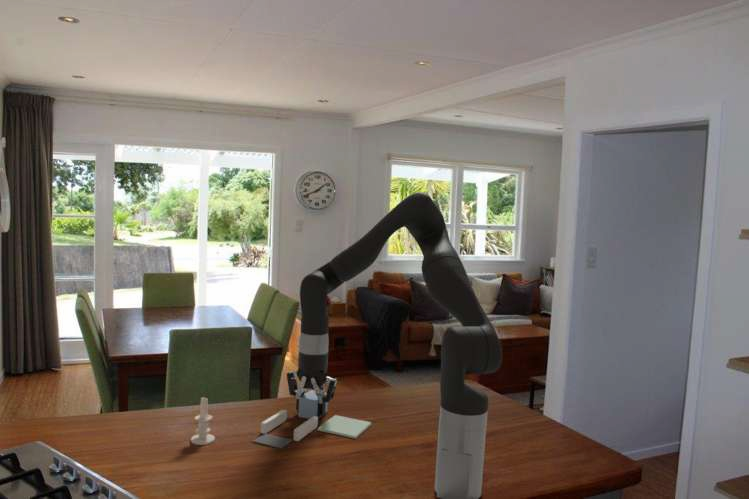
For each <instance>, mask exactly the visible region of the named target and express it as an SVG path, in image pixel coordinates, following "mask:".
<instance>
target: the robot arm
mask: <svg viewBox="0 0 749 499" xmlns="http://www.w3.org/2000/svg"><path fill="white" fill-rule="evenodd" d="M404 227H405V228H406V230H407V231H408V232H409V234H410V235H411V236H412V237H413V239H414V240H415V242H416V243H417V245H418V247H419V249H420V251H421V253H422V254H421V255H422V257H423V258H422V262H421V273H422V277H423V278H422V279H423V281H424V283H425V285H426V289H427V291H428V294H429V296H430V297H431V299H432V300H433V301H434V302H435V303H437V304H438V305H439V306H440V308H442V309H443V310H445V311H446V312H447V313H448V314H449V315H451V316H452V317H453V318H455V319H456V320H457V321H458V322H459V323H460V325H461V326H460V325H459V326H457V325H455V326H449V327H447V328H446V329H445V330H444V333H443V336H442V339H441V348H440V380H439V381H440V387H439V388H440V406H439V419H438V432H437V433H438V434H437V446H436V458H435V459H436V460H435V462H436V463H435V473H434V474H435V475H434V476H435V478H434V488H433V489H434V491H435V493H436V498H438V499H479V498H481V495H482V487H483V476H484V475H483V472H484V462H485V461H484V460H485V449H486V448H485V447H486V446H485V445H486V436H487V426H488V425H487V423H488V410H489V397H488V395H487V394H486V393H485V392H484V391H482V390H481V389H478V388H475V387H473V386H470V385H468V384H465V375H487V374H492V373H496V372H497V371H499V369H500V367H501V366H502V362H503V349H502V344H501V340H500V338H499V336H498V333H497V331H496V329H495V326H493V324H492V322H491V320H490V319H489V316H488V315H487V313H486V312H485V311H484V309H483V307H482V305H481V302H480V301H479V299H478V297H477V295H476V293H475V290H474V288H473V286H472V284H471V281H470V279H469V275H468V273H467V270H466V269H465V266H464V264H463V262H462V260H461V258H460V256H459V254H458V253H457V250H456V249H455V248H454V246H453V244H452V242H451V240H450V237H449V234H448V232H449V231H448V228H447V226H446V221H445V218H444V215H443V213H442V211H441V210H440V209H439V208H438V205H437V204H436V203H435V201H434V200H433V199H432V198H431V196H430V195H429V194H428V193H426V192H423V191H417V192H414V193H411V194H410V195H408V196H406V197H405V198H404V199H402V200H401V201H400V202H399V203H397V204H396V205H395V207H393V208H392V209H391V210H390V211H389V212H388V213H387V214H386V215H385V216H383V218H381V219H380V220H379V221H378V222H377V223H376V224H375V225H374V226H373V227H372V228H371V229H370V230H369V231H368V232H367V233H366V234H364V235H363V236H362V237H361V238H359V240H356V241H355V242H354V243H352V244H351V245H350V246H348V247H346V248H345V249H344V250H342V251H341V252H340V253H338V254H336V255H335V256H334V257H333V258H332V259H331V260H330V261H328V262H327V263H325V264H324V265H322V266H320V267H318V268H316V269H315V270H313V271H312V272H311V273H309V274H307V275H305V276H304V277H303V278H302V281H301V282H300V288H299V301H300V310H301V318H300V335H299V339H298V356H297V358H298V360H297V368H298V369H297V370H291V371H289V372H287V373H286V380H287V386H288V392H289V395H290V396H291V397H292V396H293V397H295V399H296V402H295V404H296V405H295V406H296V407H295V409H296V411H297V413H298V414H299V398H300V397H301V396H303V395H304V394H306V393H307V392H306V391H307V390H309V389H310V390H314V391H315V394H316V395H317V398H318V402H319V403H318V414H317V417H320V418H322V417H323V416H324V415H325V414H326V413H325V409H326V402H328V403H329V402H331V401H332V400H333V399H334V397H335V393H336V390H337V386H338V384H339V383H338V382H339V379H338V378H336V377H334V378H332V377H331V376H329V374H328V367H329V366H328V362H329V361H328V360H329V342H330V340H329V324H330V320H329V319H330V317H329V312H328V310H327V308H328V306H327V305H328V295H329V294H331V293H332V292H334V291H335V290H336V289H338V288H339V287H340V286H341V285H343V284H344V283H345V282H349V281H350V280H352V279H353V278H356V277H357V276H358V275H360V274H362V273H363V272H364V271H366V270H367V269H369V268H370V267H371V266H372V265H373V264H374V263H375V261H376V260H377V259H378V257H379V255H380V253H381V252H382V250H383V248H384V246H385V245H386V243H387V241H388V240H389V239H390V238H391V237H392V235H394V234H395V233H396V232H397V231H398V230H400V229H402V228H404ZM297 379H298V380H299V382H300V383H299V385H298V382H297V381H298V380H297ZM325 383H327V384H326V385H327V389H326V387H325ZM325 392H326V393H327V394H325Z"/></svg>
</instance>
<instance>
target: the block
mask: <svg viewBox="0 0 749 499" xmlns="http://www.w3.org/2000/svg"><path fill="white" fill-rule="evenodd" d="M325 394H327V391H325ZM318 403H319V402H318V398H317V395H316V394H315V391H314V390H312V389H310V390H309V391H307V392H305V394H304V395H303V396H301V397H300V398H299V413H298V417H297V418H302V419H307V420H309V419H310V418H312V417H313V416H316V417H317V414H318ZM328 406H329V402H326V409H325V414H326V413H327V412H328ZM319 418H321V417H318V419H319Z"/></svg>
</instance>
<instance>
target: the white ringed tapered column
mask: <svg viewBox="0 0 749 499" xmlns="http://www.w3.org/2000/svg"><path fill="white" fill-rule="evenodd" d="M208 406H209V400H208V398H207V397H205V395H204V396H203V397H200V406H199V414H197V415H196V416H195V417H194V420H196V421H198V426H197V427H198V428H196V429H195V433H196V434H195V435H192V437H191V438H190V443H192V444H193V445H198V446H206V445H210V444H212V443H214V442H215V439H216V437H215V436H214V435H213V434H210V432H211V428H210V427H209V421H210V420H212V419H213V415H211V414H209V412H208V409H209V407H208Z"/></svg>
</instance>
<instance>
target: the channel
mask: <svg viewBox="0 0 749 499" xmlns="http://www.w3.org/2000/svg"><path fill="white" fill-rule="evenodd" d="M287 416H288V410H286V409H282V410H280V411H278V412H277V413H274V414H273V415H272V416H270V417H269V418H267V419H265V420H264V421H262V422H261V424H260V425H261V426H260V433H261V435H260V436H258V437H256V438H255V439H254V440H252V443H255V444H260V445H263V446H266V447H267V446H268V447H272V448H275V449H281V450H282V449H284V448H285V447H286V446H288V445H289V444H290V443H291V442H293V441H295V442H299V441H301V440H302V439H303V438H304V437H306V436H308V435H309V434H310V433H312V432H313V431H314V430H316V429H318V428H319V427H318V425H319V423H318V422H319V418H318V417H316V416H313V417H312V418H310V419H307V420H306V421H304V422H303V423H302V424H300V425H299V426H297V427H296V428H295V429H293V439H290V438H286V437H281V436H277V435H273V434H269V432H271V431H272V430H273V429H275V428H277V427H279V425H282V424H283V423H285V422H286V421H287V419H288V417H287ZM308 433H309V434H308Z"/></svg>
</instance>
